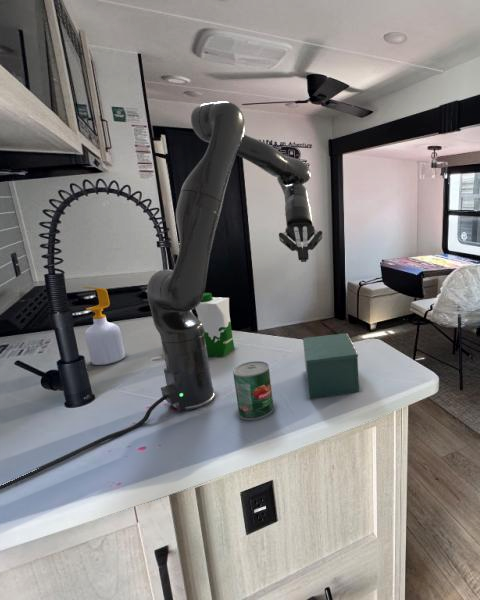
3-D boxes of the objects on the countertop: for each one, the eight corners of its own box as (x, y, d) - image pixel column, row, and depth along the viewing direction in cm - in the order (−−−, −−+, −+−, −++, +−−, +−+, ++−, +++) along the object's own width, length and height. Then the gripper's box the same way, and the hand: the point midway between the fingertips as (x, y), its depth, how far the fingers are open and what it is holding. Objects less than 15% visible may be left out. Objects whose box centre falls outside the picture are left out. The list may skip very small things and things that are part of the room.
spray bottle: (84, 364, 121) (65, 288, 115) (112, 353, 129) (95, 282, 123) (105, 367, 118) (87, 289, 112) (132, 355, 127) (116, 283, 121)
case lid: (358, 357, 95) (357, 354, 95) (306, 363, 92) (306, 360, 92) (347, 335, 110) (347, 332, 110) (303, 340, 108) (302, 338, 107)
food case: (359, 391, 98) (357, 356, 96) (309, 398, 95) (306, 362, 93) (349, 367, 113) (347, 335, 110) (306, 372, 110) (303, 340, 108)
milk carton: (214, 347, 132) (206, 290, 127) (239, 347, 131) (231, 291, 126) (199, 357, 124) (189, 297, 119) (224, 358, 122) (215, 297, 117)
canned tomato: (272, 417, 88) (267, 373, 85) (236, 422, 86) (229, 377, 83) (274, 400, 95) (270, 359, 92) (241, 404, 94) (235, 363, 91)
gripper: (274, 205, 110) (278, 253, 102) (320, 204, 113) (328, 250, 105) (276, 223, 117) (280, 269, 108) (320, 221, 120) (327, 266, 111)
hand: (303, 260), depth 107 cm, fingers closed
